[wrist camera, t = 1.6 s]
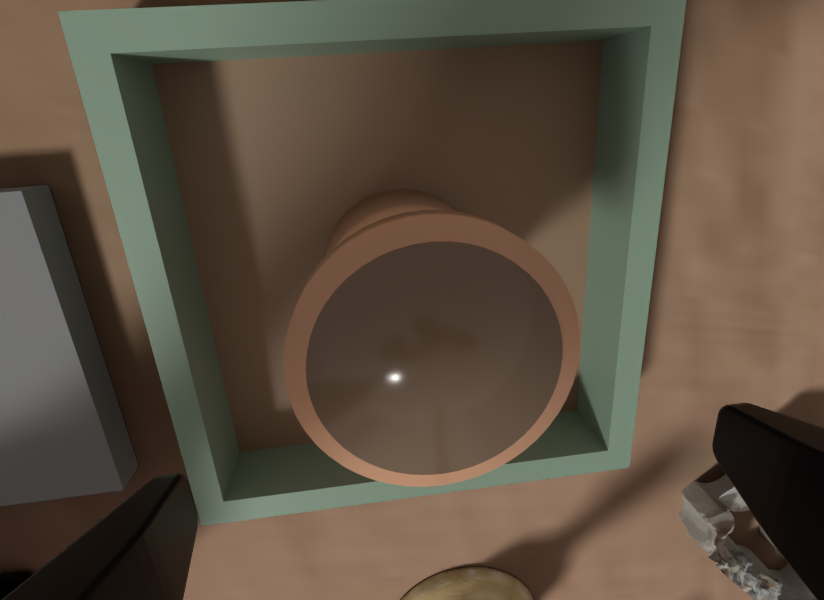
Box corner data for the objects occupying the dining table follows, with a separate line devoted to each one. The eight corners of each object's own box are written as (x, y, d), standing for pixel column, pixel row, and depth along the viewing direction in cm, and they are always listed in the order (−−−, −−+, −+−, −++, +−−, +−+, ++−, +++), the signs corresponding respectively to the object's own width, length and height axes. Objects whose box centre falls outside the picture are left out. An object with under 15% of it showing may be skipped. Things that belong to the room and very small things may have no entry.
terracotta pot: (490, 340, 20) (573, 471, 13) (322, 358, 20) (305, 508, 12) (490, 168, 18) (593, 206, 10) (297, 182, 17) (257, 234, 10)
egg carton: (654, 499, 26) (705, 564, 22) (770, 406, 25) (846, 459, 21) (751, 587, 30) (811, 656, 26) (858, 509, 28) (937, 571, 24)
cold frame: (590, 418, 23) (629, 467, 20) (223, 464, 22) (201, 526, 18) (624, 9, 17) (688, -16, 14) (118, 33, 16) (57, 11, 12)
